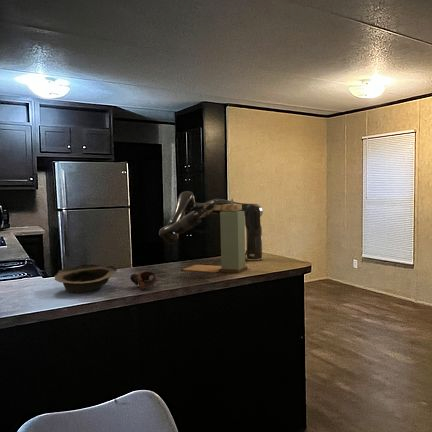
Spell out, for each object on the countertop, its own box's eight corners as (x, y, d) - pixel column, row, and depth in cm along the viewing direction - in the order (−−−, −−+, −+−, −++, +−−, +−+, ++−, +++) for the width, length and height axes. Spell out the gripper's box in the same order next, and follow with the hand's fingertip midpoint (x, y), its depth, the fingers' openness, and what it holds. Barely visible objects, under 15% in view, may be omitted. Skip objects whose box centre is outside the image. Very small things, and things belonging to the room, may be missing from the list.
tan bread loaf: (202, 210, 231) (202, 198, 231) (208, 209, 237) (207, 198, 236) (236, 210, 224) (236, 198, 224) (241, 209, 230) (241, 198, 229)
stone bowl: (98, 279, 211) (98, 260, 210) (127, 291, 195) (127, 270, 194) (44, 288, 192) (43, 268, 191) (70, 302, 176) (70, 280, 175)
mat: (182, 270, 233) (182, 269, 233) (196, 265, 246) (196, 264, 246) (215, 272, 226) (215, 271, 226) (228, 267, 239) (228, 266, 239)
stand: (219, 271, 228) (217, 212, 225) (229, 267, 238) (227, 210, 235) (238, 273, 224) (237, 212, 221) (247, 269, 234) (246, 210, 232)
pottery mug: (159, 285, 202) (160, 271, 197) (151, 299, 194) (153, 285, 189) (133, 278, 201) (134, 265, 197) (124, 292, 193) (125, 278, 189)
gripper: (179, 215, 231) (204, 199, 226) (194, 213, 244) (217, 198, 239) (186, 228, 231) (211, 212, 225) (200, 225, 244) (224, 210, 238)
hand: (214, 204), depth 232 cm, fingers closed on tan bread loaf, 2 cm apart
